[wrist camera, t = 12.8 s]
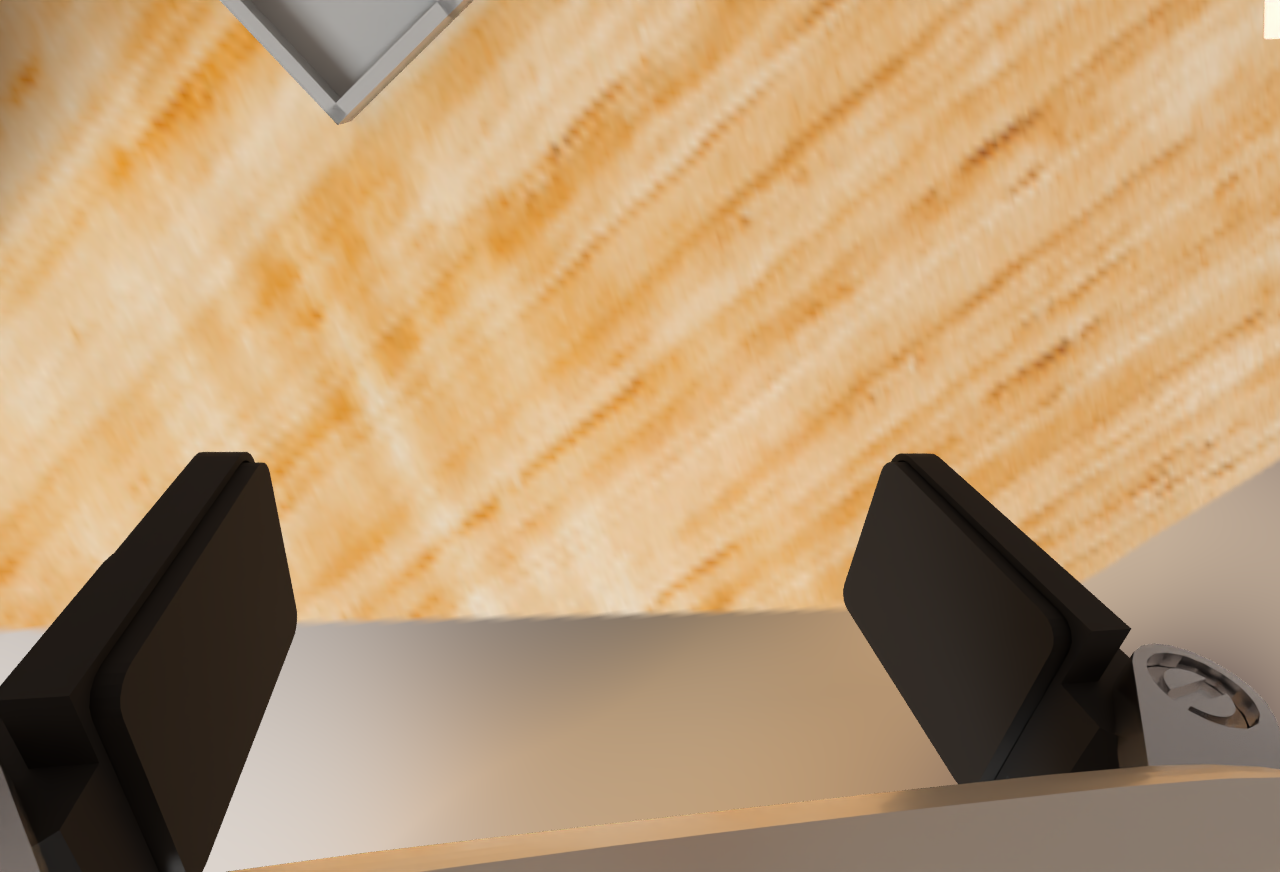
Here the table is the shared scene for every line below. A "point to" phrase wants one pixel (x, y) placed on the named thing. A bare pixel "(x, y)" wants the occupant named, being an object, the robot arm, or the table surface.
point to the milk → (1271, 19)
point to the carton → (345, 43)
